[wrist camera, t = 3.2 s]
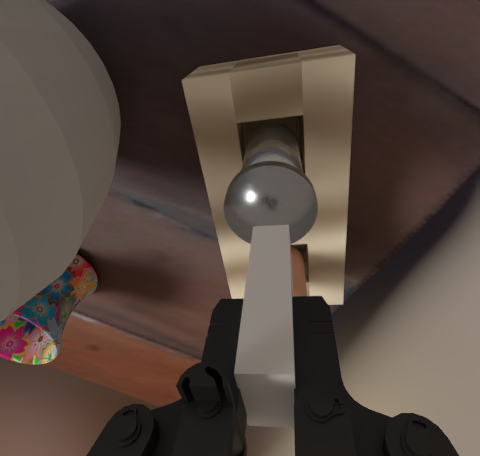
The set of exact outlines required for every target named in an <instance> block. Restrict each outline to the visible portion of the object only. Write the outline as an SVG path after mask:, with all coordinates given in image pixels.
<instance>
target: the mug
mask: <svg viewBox="0 0 480 456" xmlns="http://www.w3.org/2000/svg"><path fill="white" fill-rule="evenodd" d="M97 284H98V279H97V275H96V273H95V271H94V269H93V267H92V266H91V265H90V264H89V263H88V262H87V261H86V260H85V259H84V258H82V257H81V256H79V255H78V254H76V256H75V258H74V259H73V260H72V262H71V263H70V264H69V266H68V267H67V269H66V270H65V271H64V273H63V274H62V275H61V276H60V277H58V278H57V279H56V280H55V281H53V282H52V283H51V284H49V285H48V286H47V287H45V288H44V289H43V290H42V291H40V292H39V293H38V294H36V295H35V296H34V297H32V298H31V299H30V300H28V301H27V302H26V303H25V304H23V305H22V306H21V307H19V308H18V309H17V310H15V311H14V312H13V313H12V314H10V315H9V316H8V317H6V318H5V319H4V320H2V321H1V322H0V356H1V357H4V358H6V359H9V360H12V361H16V362H20V363H25V364H44V363H48V362H50V361H52V360H54V359H55V358H56V357H57V355H58V353H59V350H60V342H61V337H62V333H63V330H64V327H65V324H66V322H67V320H68V318H69V316H70V314H71V312H72V311H73V309H74V308H75V307H76V305H77V304H78V303H79V302H80V301H81V300H82V299H84V298H85V297H87V296H89V295H90V294H92V293H93V292H94V291H95V289H96V287H97Z"/></svg>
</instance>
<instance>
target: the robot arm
mask: <svg viewBox="0 0 480 456" xmlns="http://www.w3.org/2000/svg"><path fill="white" fill-rule="evenodd" d="M176 386H177V388H178V391H179V393H180V395H181V397H182V399H180V400H178V401H176V402H174V403H172V404H169V405H165V406H162V407H159V408H156V409H153V410H150V409H149V408H147V407H146V406H144V405H142V404H132V405H129V406H126V407H124V408H122V409H121V410H119V411H118V412H116V413H115V414H114V415H113V417H112V418H111V419H110V420H109V421H108V423H107V424H106V426H105V428H104V429H103V431H102V432H101V434H100V435H99V437H98V438H97V440H96V442H95V443H94V445H93V446H92V448H91V450H90V451H89V453H88V454H87V456H247V445H246V438H245V431H246V419H247V423H248V425H249V426H271V427H291V428H295V456H459V455H458V453H457V452H456V450H455V448H454V447H453V445H452V444H451V442H450V440H449V439H448V437H447V436H446V435H445V434H444V433H443V432H442V430H441V429H440V428H439V427H438V426H437V425H436V424H434V423H433V422H431V421H430V420H429V419H427V418H425V417H423V416H419V415H417V414H414V413H401V414H399V415H397V416H395V417H393V418H391V417H389V416H386V415H383V414H381V413H378V412H375V411H372V410H370V409H368V408H366V407H364V406H362V405H360V404H359V403H358V402H356V401H355V400H354V399H353V398H352V397H351V396H350V395H349V394H348V392H347V390H346V389H345V387H344V385H343V381H342V378H341V372H340V366H339V360H338V354H337V348H336V341H335V336H334V329H333V324H332V318H331V311H330V307H329V305H328V304H327V303H326V301H325V300H324V298H323V297H322V296H293V273H292V260H291V246H290V232H289V224H288V225H272V226H256V227H253V231H252V239H251V246H250V254H249V262H248V269H247V277H246V285H245V292H244V298H242V299H221V300H220V301H219V302H218V304H217V305H216V307H215V308H214V309H213V312H212V316H211V321H210V326H209V329H208V336H207V338H206V342H205V347H204V351H203V356H202V360H201V363H197V364H195V365H193V366H192V367H190V368H188V369H187V370H186V371H185V372H184V373H183V374H182V375H181V377H180V379H179V381H178V383H177V385H176Z"/></svg>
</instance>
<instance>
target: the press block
mask: <svg viewBox="0 0 480 456" xmlns="http://www.w3.org/2000/svg"><path fill="white" fill-rule="evenodd" d="M355 56H356V54H354V53H353V52H351V51H349V50H348V49H346V48H344V47H343V46H341V45H335V46H328V47H322V48H315V49H309V50H302V51H296V52H289V53H283V54H277V55H270V56H264V57H257V58H251V59H244V60H238V61H231V62H225V63H219V64H212V65H206V66H200V67H198V68H197V69H196V70H194V71H193V72H192V73H190V74H189V75H188V76H186V77H185V78H184V79H182V80H181V81H182V85H183V90H184V94H185V98H186V103H187V107H188V111H189V115H190V120H191V124H192V128H193V133H194V137H195V141H196V146H197V150H198V154H199V159H200V163H201V167H202V172H203V176H204V180H205V184H206V189H207V193H208V197H209V202H210V206H211V210H212V215H213V219H214V223H215V228H216V232H217V236H218V241H219V245H220V249H221V254H222V258H223V262H224V266H225V271H226V275H227V279H228V284H229V288H230V292H231V297H232V299H242V298H244V292H245V285H246V277H247V269H248V262H249V254H250V246H251V244H250V243H247V242H245V241H244V240H242V239H241V238H239V237H238V236H237V235H236V234H235V233H234V232H233V231H232V230H231V229H230V227H229V225H228V224H227V221H226V219H225V215H224V200H225V196H226V192H227V189H228V186H229V184H230V182H231V181H232V179H233V178H234V177H235V176H236V175H237V174H238V173H239V172H240V171H241V169H242V165H243V160H244V156H245V151H246V147H247V143H248V139H249V137H250V135H251V134H252V132H253V131H254V130H255V129H256V128H258V127H259V126H261V125H263V124H266V123H280V124H283V125H285V126H287V127H288V128H290V129H291V130H292V131H293V132H294V134H295V135H296V138H297V140H298V145H299V152H300V159H301V165H302V172H303V173H304V174H305V175H306V176H307V177H308V178H309V179H310V181H311V183H312V184H313V187H314V189H315V193H316V198H317V203H318V213H317V218H316V220H315V223H314V225H313V227H312V228H311V229H310V231H309V232H308V233H307V234H306V235H305V236H304V237H303V238H301V239H300V240H298V241H297V242H295V243H292V244H290V246H291V247H293V248H295V249H297V250H298V251H299V252H300V253H301V254H302V256H303V259H304V269H305V278H306V288H307V296H322V297H323V298H324V300H325V301H326V303H327V304H328V305H336V304H343V293H344V273H345V254H346V234H347V214H348V195H349V175H350V155H351V135H352V116H353V96H354V76H355Z"/></svg>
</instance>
